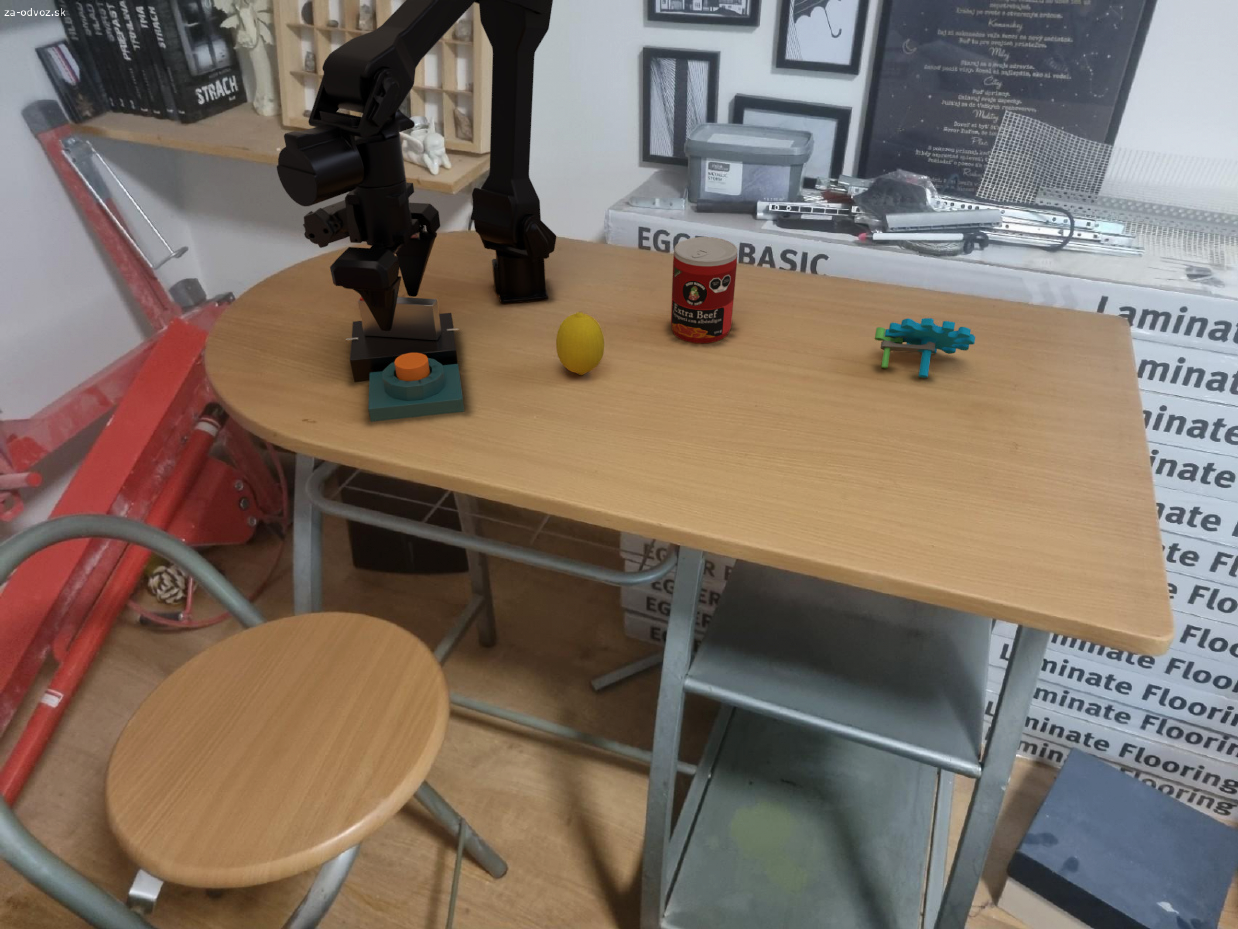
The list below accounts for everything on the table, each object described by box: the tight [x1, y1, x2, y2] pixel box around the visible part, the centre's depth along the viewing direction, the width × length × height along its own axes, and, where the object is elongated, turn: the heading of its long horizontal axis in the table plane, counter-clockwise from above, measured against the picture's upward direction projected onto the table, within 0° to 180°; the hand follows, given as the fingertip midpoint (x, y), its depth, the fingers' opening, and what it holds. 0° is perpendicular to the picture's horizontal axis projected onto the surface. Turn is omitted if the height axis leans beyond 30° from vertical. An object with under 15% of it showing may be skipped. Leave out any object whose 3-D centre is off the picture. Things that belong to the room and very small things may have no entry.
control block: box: [367, 358, 465, 423], centre depth 97 cm, size 10×8×4 cm
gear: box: [874, 317, 976, 379], centre depth 102 cm, size 11×6×10 cm
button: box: [394, 353, 430, 381], centre depth 96 cm, size 4×4×2 cm
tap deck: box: [345, 312, 460, 383], centre depth 105 cm, size 13×13×3 cm
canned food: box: [670, 236, 739, 344], centre depth 109 cm, size 8×8×11 cm
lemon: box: [555, 311, 605, 376], centre depth 100 cm, size 6×6×8 cm
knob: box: [357, 296, 441, 340], centre depth 103 cm, size 9×2×5 cm, turn 82°
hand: (399, 312), depth 102 cm, fingers open, 9 cm apart
